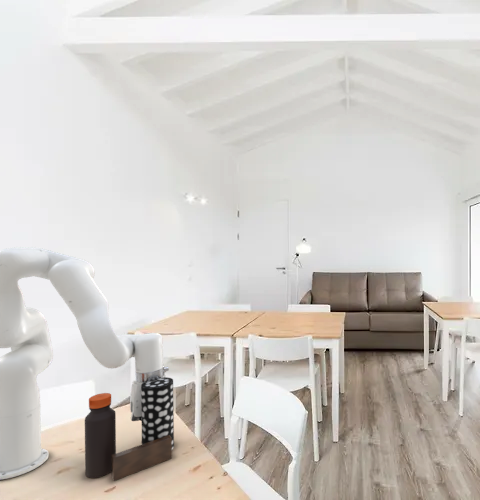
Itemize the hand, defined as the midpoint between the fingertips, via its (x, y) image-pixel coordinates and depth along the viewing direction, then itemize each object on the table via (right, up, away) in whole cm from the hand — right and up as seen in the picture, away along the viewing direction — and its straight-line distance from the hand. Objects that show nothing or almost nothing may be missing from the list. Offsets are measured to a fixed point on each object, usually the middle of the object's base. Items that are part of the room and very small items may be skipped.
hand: (151, 433), depth 108 cm
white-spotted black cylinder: (+4, -3, -4) cm, 6 cm away
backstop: (+5, -3, -12) cm, 13 cm away
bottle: (-6, -3, -13) cm, 15 cm away
